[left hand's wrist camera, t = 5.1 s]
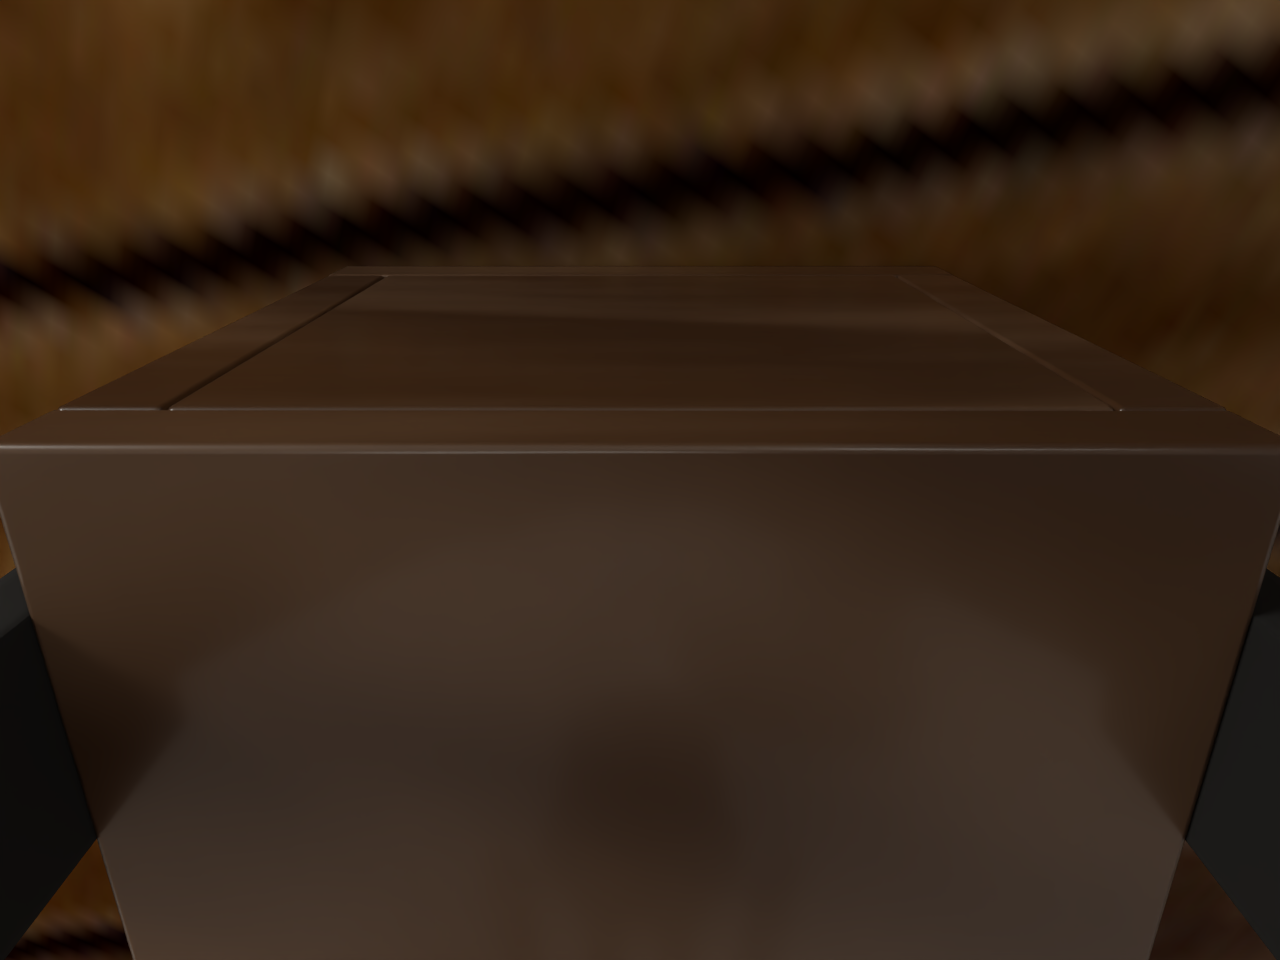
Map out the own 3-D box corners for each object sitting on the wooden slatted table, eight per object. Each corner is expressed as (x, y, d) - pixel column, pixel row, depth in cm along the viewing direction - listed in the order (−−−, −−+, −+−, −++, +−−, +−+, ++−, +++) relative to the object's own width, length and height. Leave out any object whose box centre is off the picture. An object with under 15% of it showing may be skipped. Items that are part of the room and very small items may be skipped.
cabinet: (844, 1012, 25) (970, 1565, 15) (437, 1012, 25) (311, 1563, 15) (936, 265, 17) (1309, 446, 8) (345, 265, 17) (-27, 445, 8)
